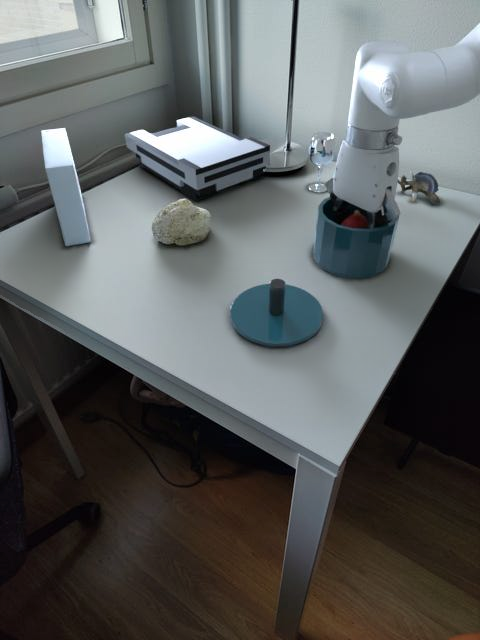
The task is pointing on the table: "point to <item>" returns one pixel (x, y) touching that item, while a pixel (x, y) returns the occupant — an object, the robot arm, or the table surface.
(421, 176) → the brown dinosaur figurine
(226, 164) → the game console
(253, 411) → the table surface
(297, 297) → the lid
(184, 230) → the decorative item
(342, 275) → the pot
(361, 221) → the red pomegranate
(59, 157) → the skincare box
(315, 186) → the wineglass
